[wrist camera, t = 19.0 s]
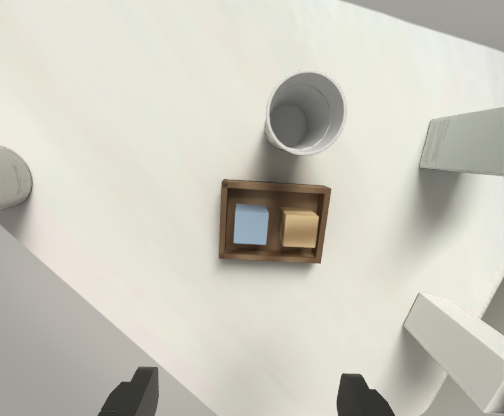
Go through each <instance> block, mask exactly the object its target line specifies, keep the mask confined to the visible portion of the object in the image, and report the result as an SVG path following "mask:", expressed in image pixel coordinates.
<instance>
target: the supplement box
mask: <svg viewBox="0 0 504 416" xmlns="http://www.w3.org/2000/svg"><path fill="white" fill-rule="evenodd" d="M420 168H428V169H437V170H446V171H455V172H465V173H474V174H485V175H496V176H504V107H498V108H493V109H487V110H482V111H476V112H470V113H465V114H459V115H454V116H448V117H442V118H437V119H432V120H431V123H430V127H429V130H428V134H427V138H426V142H425V146H424V149H423V153H422V157H421V161H420Z"/></svg>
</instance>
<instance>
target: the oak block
mask: <svg viewBox="0 0 504 416" xmlns="http://www.w3.org/2000/svg"><path fill="white" fill-rule="evenodd" d="M318 220H319V216H318V215H316V214H315V213H314V212H313V211H312V210H310V209H309V208H291V207H281V208H280V219H279V230H278V235H279V238H280V240H281V243H282V245H283V246H288V247H309V248H315V244H316V236H317V228H318Z"/></svg>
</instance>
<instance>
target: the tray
mask: <svg viewBox="0 0 504 416" xmlns="http://www.w3.org/2000/svg"><path fill="white" fill-rule="evenodd" d="M330 194H331V188H328V187H326V186H320V185H305V184H290V183H274V182H259V181H243V180H228V179H224V180H223V181H222V191H221V216H220V241H219V258H223V259H242V260H262V261H282V262H302V263H321V257H322V250H323V243H324V236H325V229H326V222H327V215H328V208H329V201H330ZM236 204H249V205H265V206H266V208H267V210H268V213H269V217H268V228H267V240H266V245H259V244H241V243H234V226H235V210H236ZM281 207H291V208H309V209H310V210H312V211H313V212H314V213H315V214H316V215H318V216H319V220H318V228H317V236H316V244H315V248H309V247H288V246H283V245H282V243H281V240H280V238H279V235H278V230H279V219H280V208H281Z"/></svg>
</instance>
